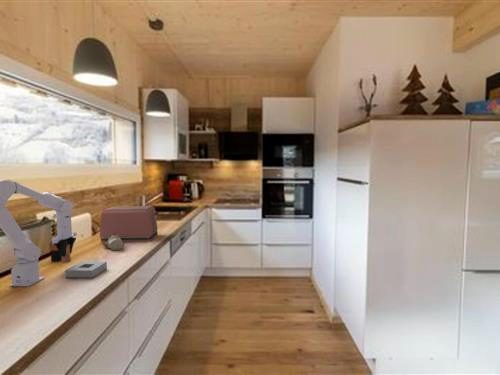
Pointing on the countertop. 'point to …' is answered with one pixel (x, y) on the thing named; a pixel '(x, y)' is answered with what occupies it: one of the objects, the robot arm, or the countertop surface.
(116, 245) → the ceramic sculpture
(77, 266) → the socket block
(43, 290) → the countertop surface
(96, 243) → the countertop surface
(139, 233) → the toaster
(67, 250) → the peg
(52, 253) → the battery
